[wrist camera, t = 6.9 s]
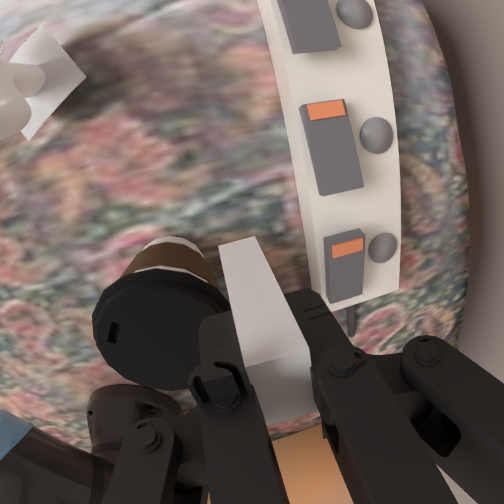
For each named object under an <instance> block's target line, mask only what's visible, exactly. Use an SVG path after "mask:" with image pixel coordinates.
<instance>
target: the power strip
mask: <svg viewBox="0 0 504 504" xmlns="http://www.w3.org/2000/svg"><path fill="white" fill-rule="evenodd" d="M257 1H258V5H259V9H260V13H261V17H262V21H263V25H264V29H265V33H266V37H267V41H268V45H269V50H270V54H271V59H272V63H273V67H274V72H275V77H276V81H277V86H278V91H279V95H280V100H281V105H282V110H283V115H284V120H285V125H286V130H287V135H288V141H289V146H290V152H291V157H292V163H293V168H294V174H295V180H296V186H297V192H298V198H299V204H300V210H301V216H302V223H303V230H304V236H305V243H306V250H307V257H308V264H309V272H310V279H311V287H312V290H314V291H315V292H317V293H319V294H320V295H321V297H322V299H323V300H324V302H325V303H326V306H328V308H329V309H330V311H331V312H332V311H336V310H339V309H342V308H345V307H347V327H348V336H349V337H353V336H354V335H355V304H358V303H361V302H364V301H367V300H370V299H373V298H376V297H378V296H381V295H384V294H387V293H390V292H393V291H396V290H398V288H399V272H400V249H401V191H400V168H399V152H398V139H397V129H396V119H395V110H394V102H393V95H392V88H391V81H390V75H389V69H388V63H387V57H386V52H385V47H384V42H383V37H382V33H381V28H380V24H379V20H378V15H377V11H376V7H375V3H374V0H328V3H329V6H330V9H331V12H332V15H333V18H334V21H335V24H336V28H337V31H338V34H339V38H340V41H341V45H342V47H340V48H339V49H337V50H332V51H319V52H309V53H299V54H292V50H291V46H290V43H289V39H288V36H287V32H286V29H285V25H284V22H283V19H282V15H281V12H280V9H279V6H278V2H277V0H257ZM338 99H344V100H345V104H346V107H347V111H348V115H349V119H350V123H351V127H352V131H353V136H354V140H355V144H356V149H357V153H358V158H359V163H360V167H361V172H362V177H363V183H364V187H363V188H358V189H354V190H350V191H345V192H341V193H336V194H332V195H328V196H320V195H319V192H318V187H317V183H316V178H315V173H314V169H313V165H312V160H311V156H310V152H309V148H308V143H307V139H306V135H305V131H304V127H303V123H302V119H301V115H300V112H299V107H300V106H301V105H303V104H309V103H316V102H323V101H330V100H338ZM357 228H360V229H361V231H362V232H363V233H364V234H365V235H366V236H365V261H364V279H363V293H362V295H359V296H356V297H352V298H349V299H346V300H343V301H340V302H337V303H333V304H330V303H329V301H328V299H327V297H326V280H325V260H324V242H323V238H324V237H327V236H331V235H335V234H339V233H342V232H346V231H350V230H354V229H357Z"/></svg>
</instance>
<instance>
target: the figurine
mask: <svg viewBox="0 0 504 504" xmlns="http://www.w3.org/2000/svg"><path fill="white" fill-rule="evenodd" d="M2 48H3V42H2V40H0V53H1V51H2ZM85 78H86V75H85V74H84V73H83V72H82V71H81V70H80V68H79V67H78V66H77V65H76V64H75V62H74V61H73V60H72V59H71V58H70V56H69V55H68V54H67V53H66V52H65V51H64V49H63V48H62V47H61V46H60V45H59V43H58V42H57V41H56V40H55V39H54V37H53V36H52V35H51V34H50V33H49V31H48V30H47V29H46V28H45V27H44V25H43V24H41V25H40V26H39V27H38V28H37V29H36V30H35V31H34V32H33V33H32V35H31V36H30V37H29V38H28V39H27V40H26V41H25V42H24V43H23V45H22V46H21V47H20V48H19V49H18V50H17V52H16V53H15V54H14V55H13V56H12V58H11V59H10V60H9V61H8V62H4V61H1V60H0V140H2V139H5V138H8V137H11V136H13V135H15V134H17V133H18V132H20V131H21V132H22V134H23V135H24V136H25V137H26V139H27V140H28V141H29V140H30V139H31V138H32V137H33V135H34V134H35V133H36V132H37V130H38V129H39V128H40V127H41V126H42V124H43V123H44V122H45V121H46V120H47V119H48V117H49V116H50V115H51V114H52V113H53V112H54V110H55V109H56V108H57V107H58V106H59V105H60V104H61V103H62V102H63V101H64V99H65V98H66V97H67V96H68V95H69V94H70V93H71V92H72V91H73V90H74V89H75V88H76V87H77V86H78V85H79V84H80V83H81V82H82V81H83V80H84V79H85Z"/></svg>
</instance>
